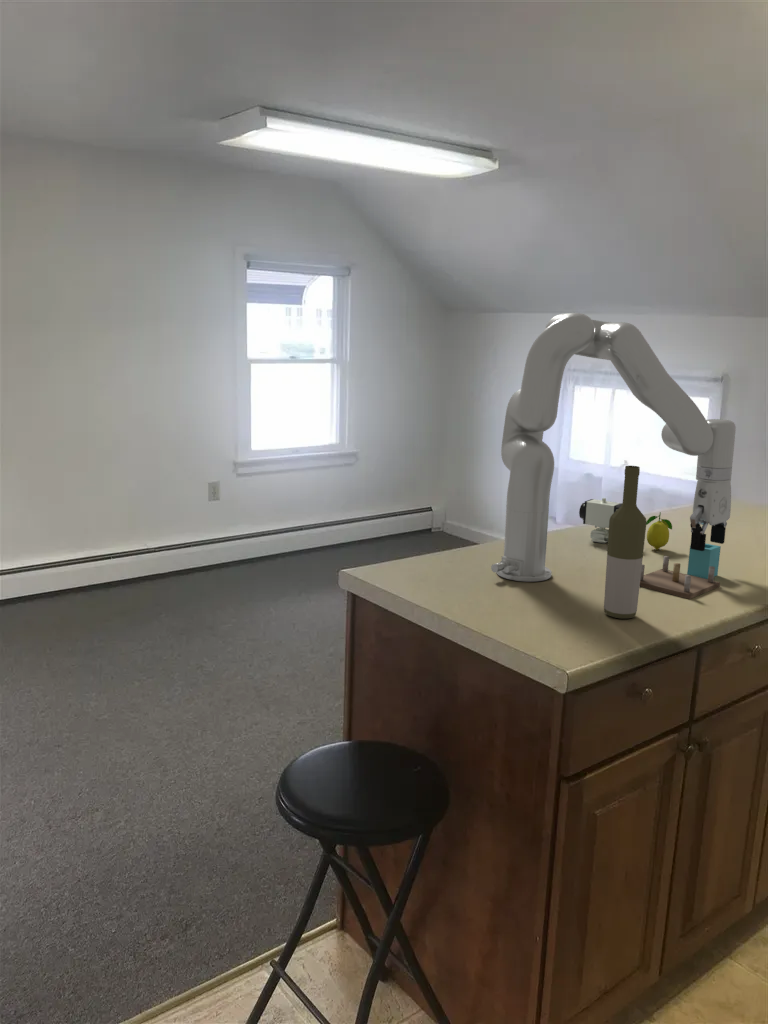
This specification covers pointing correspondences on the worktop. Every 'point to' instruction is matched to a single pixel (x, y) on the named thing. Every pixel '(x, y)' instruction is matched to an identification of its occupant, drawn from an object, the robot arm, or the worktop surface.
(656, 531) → the lemon
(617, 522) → the bottle
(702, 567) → the hollow square block
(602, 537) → the pneumatic valve
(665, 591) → the pegboard
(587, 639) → the worktop surface
